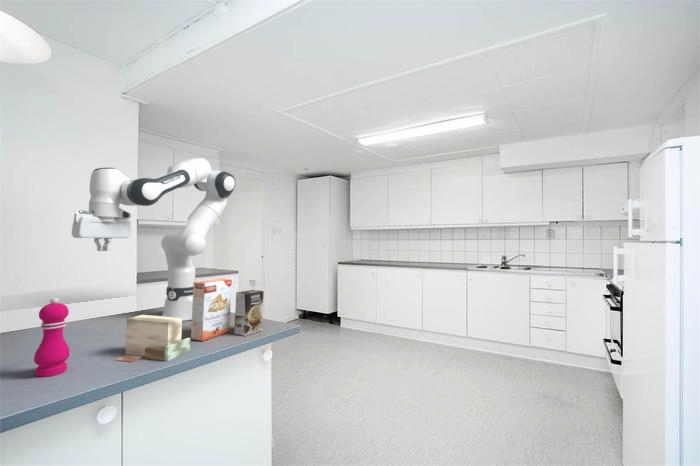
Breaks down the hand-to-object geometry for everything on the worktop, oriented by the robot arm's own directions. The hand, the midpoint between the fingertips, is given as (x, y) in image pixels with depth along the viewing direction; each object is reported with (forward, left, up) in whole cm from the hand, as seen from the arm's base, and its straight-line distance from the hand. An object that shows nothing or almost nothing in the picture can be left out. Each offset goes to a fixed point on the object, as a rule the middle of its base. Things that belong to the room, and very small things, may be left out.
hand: (102, 251), depth 119 cm
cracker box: (-14, +35, -31) cm, 49 cm away
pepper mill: (+27, +15, -31) cm, 44 cm away
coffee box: (-22, +46, -31) cm, 60 cm away
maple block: (+7, +29, -31) cm, 43 cm away
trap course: (+7, +27, -31) cm, 42 cm away
